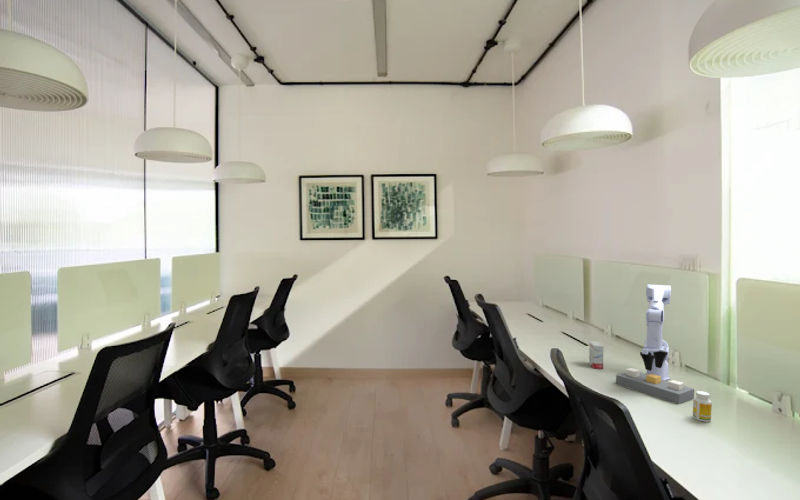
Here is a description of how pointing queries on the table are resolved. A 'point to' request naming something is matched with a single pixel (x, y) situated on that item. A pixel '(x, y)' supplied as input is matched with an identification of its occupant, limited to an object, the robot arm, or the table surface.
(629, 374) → the block
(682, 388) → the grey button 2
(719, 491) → the table surface
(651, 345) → the robot arm
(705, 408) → the supplement bottle
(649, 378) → the amber button
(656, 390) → the panel
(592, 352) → the ink box
